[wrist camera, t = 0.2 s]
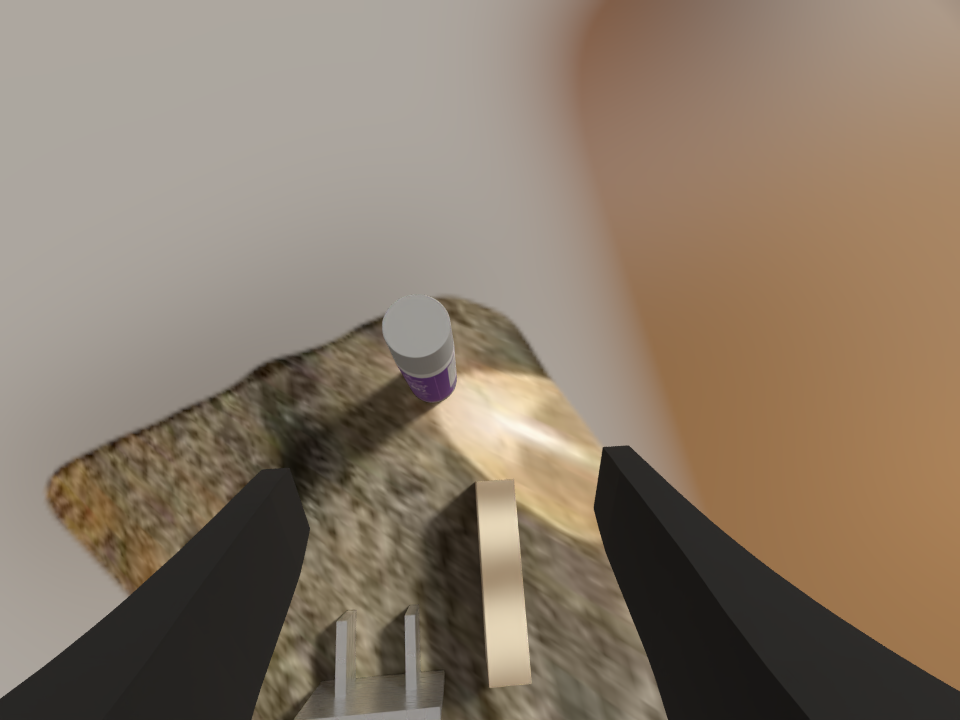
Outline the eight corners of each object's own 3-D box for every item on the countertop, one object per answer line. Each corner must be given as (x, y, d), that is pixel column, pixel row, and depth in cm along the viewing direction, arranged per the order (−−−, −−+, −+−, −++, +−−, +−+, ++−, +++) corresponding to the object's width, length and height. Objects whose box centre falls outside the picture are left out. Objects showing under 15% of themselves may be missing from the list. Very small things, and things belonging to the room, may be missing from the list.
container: (407, 401, 41) (376, 357, 27) (411, 355, 42) (383, 290, 28) (455, 404, 41) (450, 361, 27) (458, 358, 43) (454, 294, 28)
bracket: (444, 688, 35) (440, 729, 29) (320, 700, 34) (291, 744, 28) (441, 602, 36) (437, 624, 31) (323, 612, 36) (296, 637, 30)
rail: (520, 651, 36) (531, 683, 30) (485, 654, 36) (489, 687, 30) (506, 479, 40) (513, 479, 34) (474, 481, 39) (476, 481, 34)
